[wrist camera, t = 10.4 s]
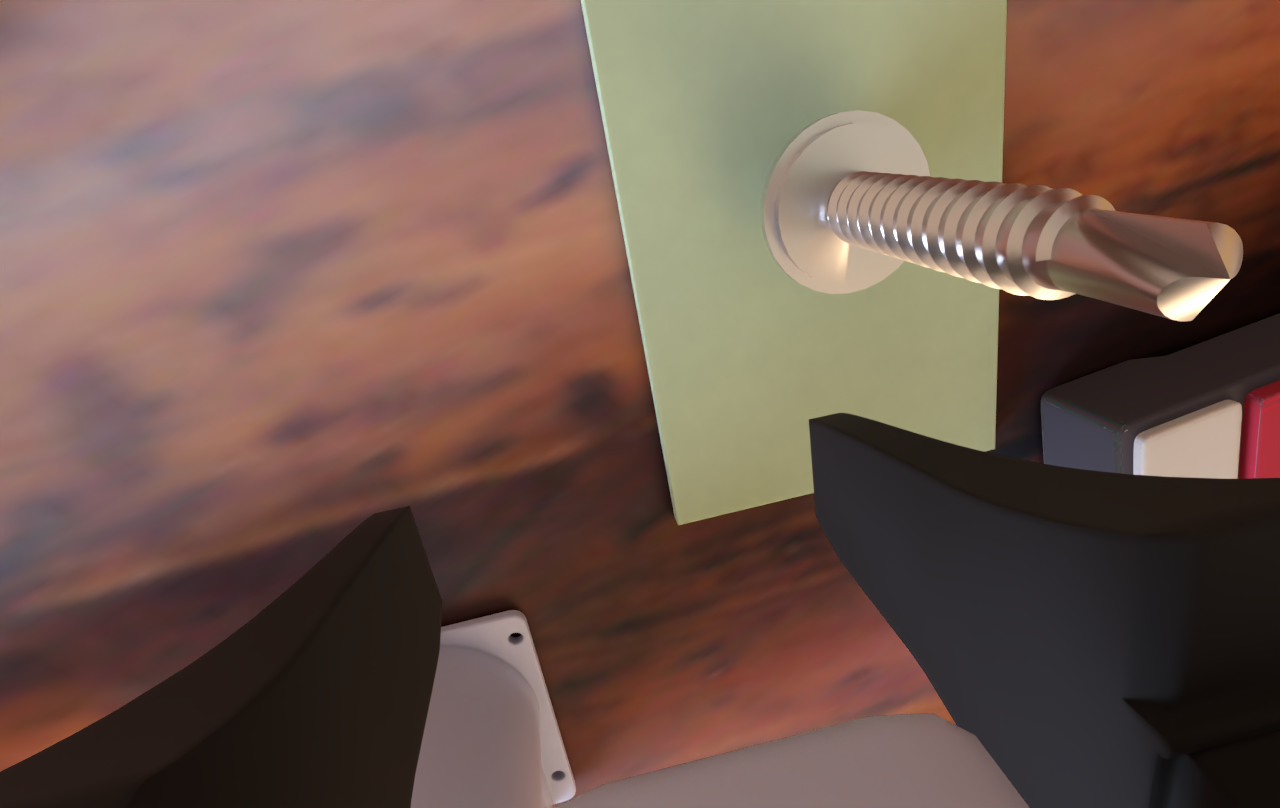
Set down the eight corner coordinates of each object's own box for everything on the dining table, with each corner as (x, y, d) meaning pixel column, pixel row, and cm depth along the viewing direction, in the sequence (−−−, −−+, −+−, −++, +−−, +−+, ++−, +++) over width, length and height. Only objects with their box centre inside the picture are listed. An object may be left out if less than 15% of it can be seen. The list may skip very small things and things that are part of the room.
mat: (985, 443, 25) (995, 449, 25) (674, 517, 24) (677, 526, 24) (999, -234, 18) (1014, -246, 17) (550, -165, 17) (550, -176, 16)
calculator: (1479, 551, 26) (1140, 694, 25) (1349, 499, 30) (1050, 621, 29) (1545, 280, 22) (1141, 436, 21) (1384, 262, 26) (1037, 391, 25)
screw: (891, 100, 20) (895, 264, 22) (732, 129, 19) (749, 294, 21) (1452, 33, 8) (1354, 413, 10) (1067, 105, 7) (1042, 488, 9)
